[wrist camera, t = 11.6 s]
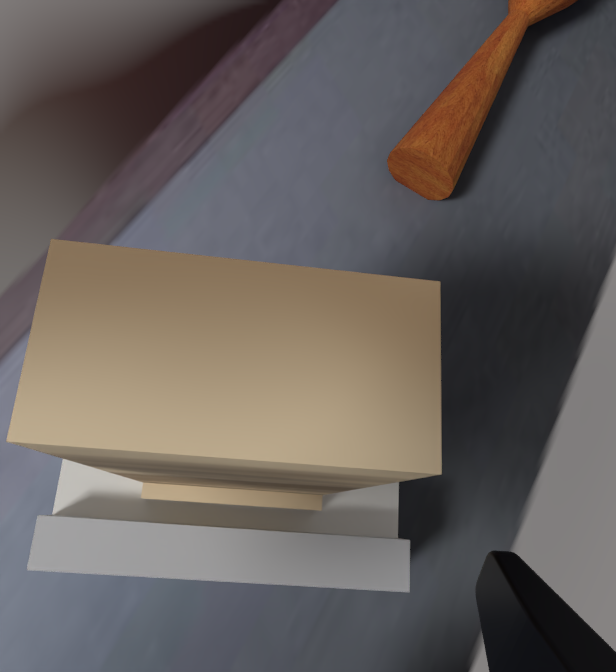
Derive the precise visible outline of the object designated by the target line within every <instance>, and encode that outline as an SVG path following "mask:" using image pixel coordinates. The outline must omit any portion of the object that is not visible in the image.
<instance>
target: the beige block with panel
mask: <svg viewBox="0 0 616 672" xmlns="http://www.w3.org/2000/svg"><path fill="white" fill-rule="evenodd" d="M6 442H9V443H13V444H16V445H19V446H23V447H26V448H29V449H33V450H36V451H39V452H43V453H46V454H49V455H53V456H56V457H59V458H63V459H66V460H69V461H73V462H76V463H79V464H83V465H86V466H89V467H93V468H96V469H99V470H103V471H106V472H109V473H113V474H116V475H119V476H123V477H126V478H129V479H133V480H136V481H139V482H143V486H142V493H141V498H143V499H154V500H169V501H184V502H198V503H213V504H228V505H242V506H257V507H272V508H287V509H301V510H316V511H322V497H323V495H327V494H333V493H338V492H344V491H350V490H355V489H361V488H367V487H373V486H378V485H384V484H390V483H396V482H401V481H407V480H413V479H419V478H424V477H430V476H436V475H442V451H441V297H440V281H431V280H422V279H413V278H403V277H394V276H385V275H376V274H367V273H358V272H348V271H339V270H330V269H321V268H312V267H303V266H294V265H284V264H275V263H266V262H257V261H248V260H239V259H230V258H220V257H211V256H202V255H193V254H184V253H175V252H165V251H156V250H147V249H138V248H129V247H120V246H111V245H101V244H92V243H83V242H74V241H65V240H56V239H51V241H50V246H49V251H48V255H47V260H46V264H45V269H44V273H43V278H42V282H41V287H40V291H39V296H38V300H37V305H36V309H35V314H34V318H33V323H32V327H31V332H30V336H29V341H28V346H27V350H26V355H25V359H24V364H23V368H22V373H21V377H20V382H19V386H18V391H17V395H16V400H15V404H14V409H13V413H12V418H11V422H10V427H9V432H8V436H7V441H6Z"/></svg>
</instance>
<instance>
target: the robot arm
mask: <svg viewBox="0 0 616 672" xmlns="http://www.w3.org/2000/svg"><path fill="white" fill-rule="evenodd" d="M476 600H477V606H478V611H479V617H480V622H481V628H482V633H483V639H484V644H485V650H486V655H487V661H488V666H489V672H616V652H615V651H614V650H613V649H612V648H611V647H610V646H609V645H608V644H607V643H606V642H605V641H604V640H603V639H602V638H601V637H600V636H599V635H598V634H597V633H596V632H595V631H594V630H593V629H592V628H591V627H590V626H589V625H588V624H587V623H586V622H585V621H584V620H583V619H582V618H581V617H580V616H579V615H578V614H577V613H576V612H575V611H574V610H573V609H572V608H571V607H570V606H569V605H568V604H566V602H565V601H564V600H563V599H562V598H561V597H559V595H558V594H556V593H555V592H554V591H553V590H552V589H551V588H550V587H549V586H548V585H547V584H546V583H545V582H544V581H543V580H542V579H541V578H540V577H539V576H538V575H537V574H536V573H535V572H534V571H533V570H532V569H531V568H530V567H529V566H528V565H527V564H526V563H525V562H524V561H523V560H522V559H521V558H520V557H519V556H518V555H517V554H515V553H513V552H508V551H491V552H490V553H488V555H487V557H486V559H485V562H484V564H483V567H482V570H481V572H480V575H479V577H478V580H477V583H476Z"/></svg>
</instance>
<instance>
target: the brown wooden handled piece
mask: <svg viewBox="0 0 616 672" xmlns="http://www.w3.org/2000/svg"><path fill="white" fill-rule="evenodd" d="M576 1H578V0H508V16H507V17H506V18H505V19H504V20H503V21H502V23H501V24H500V25H499V26H498V27H497V28H496V30H495V31H494V32H493V33H492V34H491V35H490V37H489V38H488V39H487V40H486V41H485V42H484V44H483V45H482V46H481V47H480V48H479V49H478V51H477V52H476V53H475V54H474V55H473V57H472V58H471V59H470V60H469V61H468V62H467V64H466V65H465V66H464V67H463V68H462V69H461V71H460V72H459V73H458V74H457V75H456V76H455V78H454V79H453V80H452V81H451V82H450V83H449V85H448V86H447V87H446V88H445V89H444V90H443V92H442V93H441V94H440V95H439V96H438V97H437V99H436V100H435V101H434V102H433V103H432V104H431V106H430V107H429V108H428V109H427V110H426V111H425V113H424V114H423V115H422V116H421V117H420V119H419V120H418V121H417V122H416V123H415V124H414V126H413V127H412V128H411V129H410V130H409V131H408V133H407V134H406V135H405V136H404V137H403V138H402V140H401V141H400V142H399V143H398V144H397V145H396V147H395V148H394V149H393V150H392V151H391V152H390V155H389V157H388V159H387V162H388V168H389V171H390V172H391V174H392V176H393V177H394V179H395V180H396V181H398V182H399V183H401V184H403V185H404V186H406V187H408V188H409V189H411V190H413V191H414V192H416V193H418V194H419V195H421V196H423V197H424V198H426V199H428V200H442V199H444V198H447V197H449V195H450V194H451V193H452V191H453V189H454V187H455V185H456V183H457V180H458V178H459V176H460V174H461V172H462V169H463V167H464V165H465V163H466V161H467V158H468V156H469V154H470V152H471V150H472V147H473V145H474V143H475V141H476V139H477V136H478V134H479V132H480V130H481V128H482V125H483V123H484V121H485V119H486V117H487V114H488V112H489V110H490V108H491V106H492V103H493V101H494V99H495V97H496V95H497V92H498V90H499V88H500V86H501V84H502V81H503V79H504V77H505V75H506V73H507V70H508V68H509V66H510V64H511V62H512V59H513V57H514V55H515V53H516V51H517V49H518V46H519V44H520V42H521V40H522V38H523V35H524V33H525V31H526V29H527V27H528V26H530V25H532V24H534V23H536V22H538V21H540V20H542V19H544V18H547V17H549V16H551V15H553V14H555V13H557V12H559V11H561V10H563V9H565V8H567V7H568V6H570V5H572V4H573V3H575V2H576Z"/></svg>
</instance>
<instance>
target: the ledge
mask: <svg viewBox="0 0 616 672" xmlns="http://www.w3.org/2000/svg"><path fill="white" fill-rule="evenodd" d="M142 486H143V482H139V481H136V480H133V479H129V478H126V477H123V476H119V475H116V474H113V473H109V472H106V471H103V470H99V469H96V468H93V467H89V466H86V465H83V464H79V463H76V462H73V461H69V460H66V459H63V462H62V467H61V473H60V478H59V483H58V488H57V493H56V499H55V504H54V509H53V514H52V515H38V516H37V521H36V526H35V531H34V536H33V541H32V546H31V551H30V556H29V561H28V566H27V570H34V571H51V572H68V573H86V574H103V575H120V576H137V577H155V578H172V579H189V580H206V581H224V582H241V583H258V584H275V585H293V586H310V587H327V588H344V589H362V590H379V591H396V592H409V588H410V540H406V539H400V538H398V506H399V482H396V483H390V484H384V485H378V486H373V487H367V488H361V489H355V490H350V491H344V492H338V493H333V494H327V495H323V497H322V511H316V510H301V509H287V508H272V507H257V506H242V505H228V504H213V503H198V502H184V501H169V500H154V499H143V498H141V493H142Z"/></svg>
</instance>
